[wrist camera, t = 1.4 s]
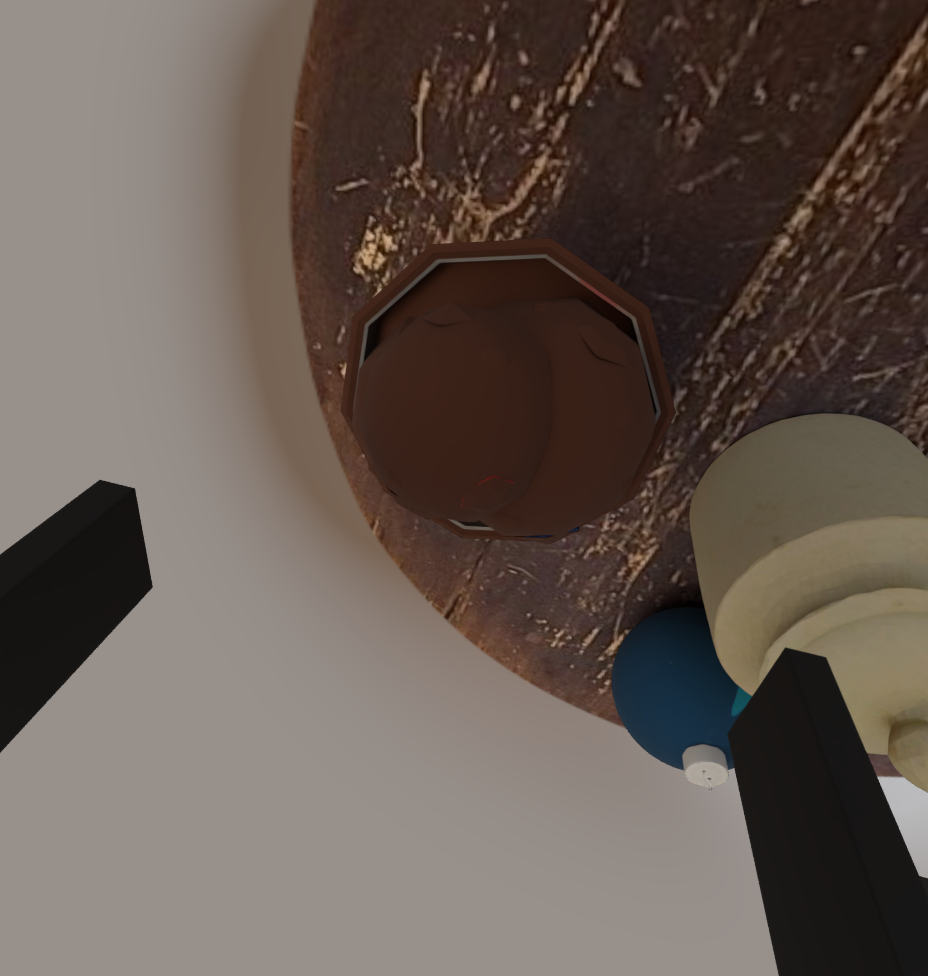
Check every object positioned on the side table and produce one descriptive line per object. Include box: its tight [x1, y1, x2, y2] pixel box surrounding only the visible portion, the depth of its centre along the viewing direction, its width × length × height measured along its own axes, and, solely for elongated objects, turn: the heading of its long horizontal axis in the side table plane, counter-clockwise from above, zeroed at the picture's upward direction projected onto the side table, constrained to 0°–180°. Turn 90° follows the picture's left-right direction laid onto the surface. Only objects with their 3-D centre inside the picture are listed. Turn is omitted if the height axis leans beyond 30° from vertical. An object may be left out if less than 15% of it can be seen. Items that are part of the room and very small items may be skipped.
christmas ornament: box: [612, 607, 752, 790], centre depth 32 cm, size 8×8×10 cm
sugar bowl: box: [689, 413, 928, 792], centre depth 23 cm, size 15×11×15 cm
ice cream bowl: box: [341, 238, 676, 544], centre depth 21 cm, size 11×11×15 cm
